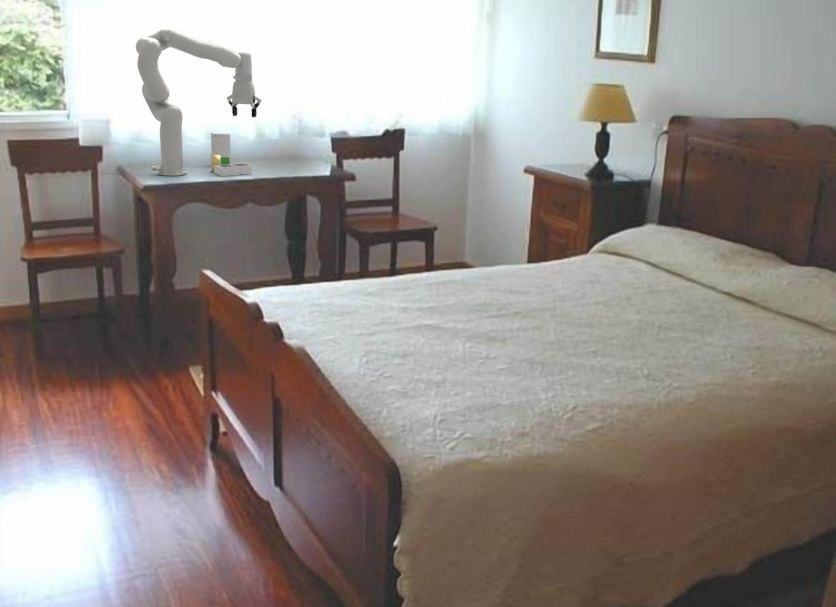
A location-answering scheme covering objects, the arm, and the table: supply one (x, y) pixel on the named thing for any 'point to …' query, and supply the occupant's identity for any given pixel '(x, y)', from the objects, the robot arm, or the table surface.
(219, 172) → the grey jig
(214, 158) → the brass bushing
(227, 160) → the skincare box
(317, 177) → the table surface
